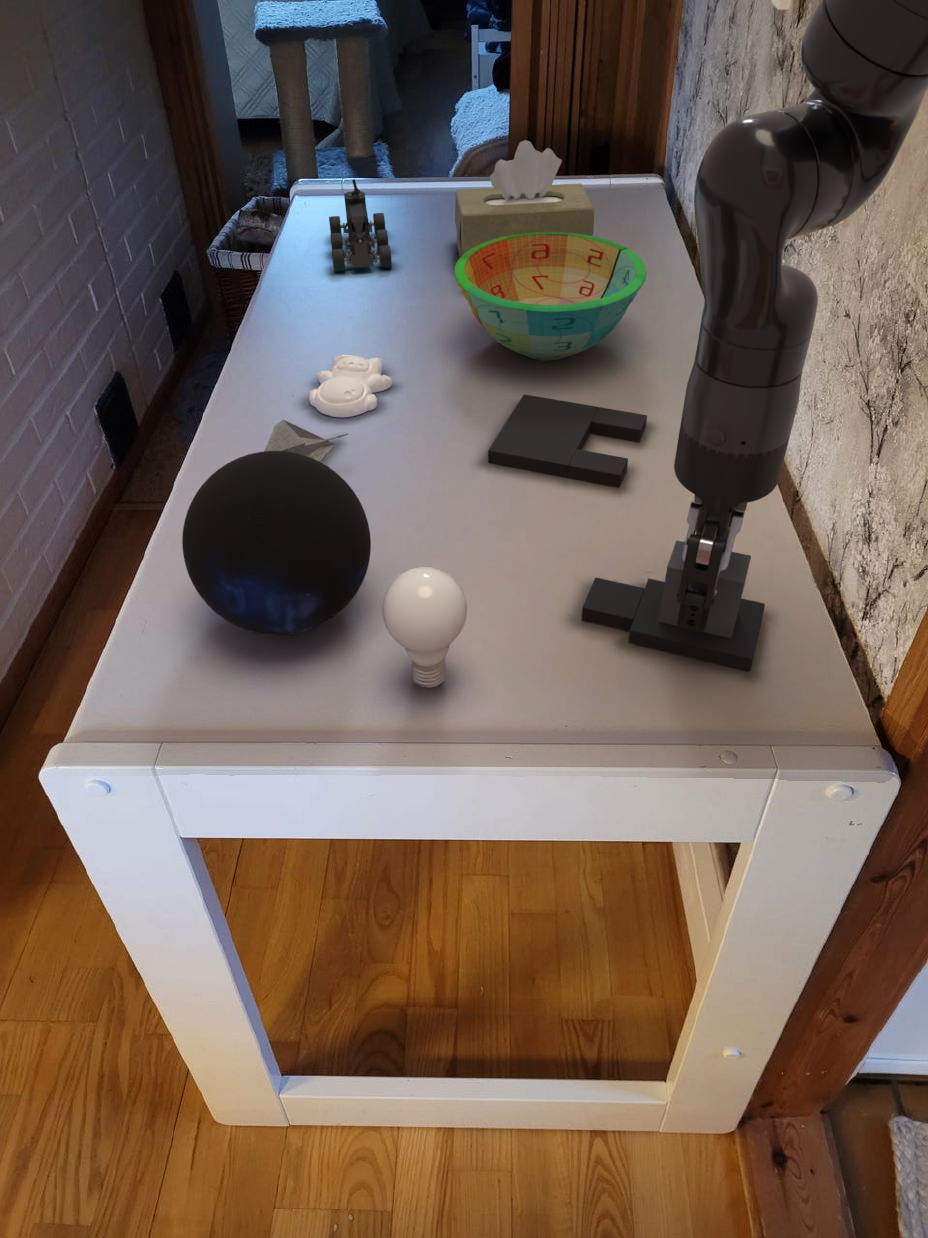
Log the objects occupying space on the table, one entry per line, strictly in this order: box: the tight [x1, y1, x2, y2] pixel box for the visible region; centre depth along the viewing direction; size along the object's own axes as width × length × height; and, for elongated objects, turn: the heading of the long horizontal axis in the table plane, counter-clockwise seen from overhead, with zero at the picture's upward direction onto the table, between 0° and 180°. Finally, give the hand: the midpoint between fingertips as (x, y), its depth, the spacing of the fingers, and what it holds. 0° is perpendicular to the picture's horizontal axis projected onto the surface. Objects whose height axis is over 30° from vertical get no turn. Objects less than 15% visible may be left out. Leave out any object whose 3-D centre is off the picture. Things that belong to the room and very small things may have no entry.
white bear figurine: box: [308, 353, 393, 418], centre depth 110 cm, size 9×12×3 cm
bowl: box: [453, 232, 648, 361], centre depth 114 cm, size 22×22×10 cm
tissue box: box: [454, 139, 595, 259], centre depth 133 cm, size 19×10×16 cm, turn 95°
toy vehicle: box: [328, 178, 393, 273], centre depth 137 cm, size 8×15×9 cm, turn 8°
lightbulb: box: [381, 566, 468, 688], centre depth 73 cm, size 6×6×11 cm
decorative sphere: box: [181, 451, 372, 636], centre depth 78 cm, size 15×15×15 cm
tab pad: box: [581, 540, 766, 672], centre depth 78 cm, size 14×7×8 cm, turn 69°
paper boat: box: [263, 419, 349, 462], centre depth 97 cm, size 12×6×9 cm
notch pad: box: [487, 393, 648, 488], centre depth 101 cm, size 14×12×2 cm
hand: (700, 593), depth 78 cm, fingers open, 8 cm apart
